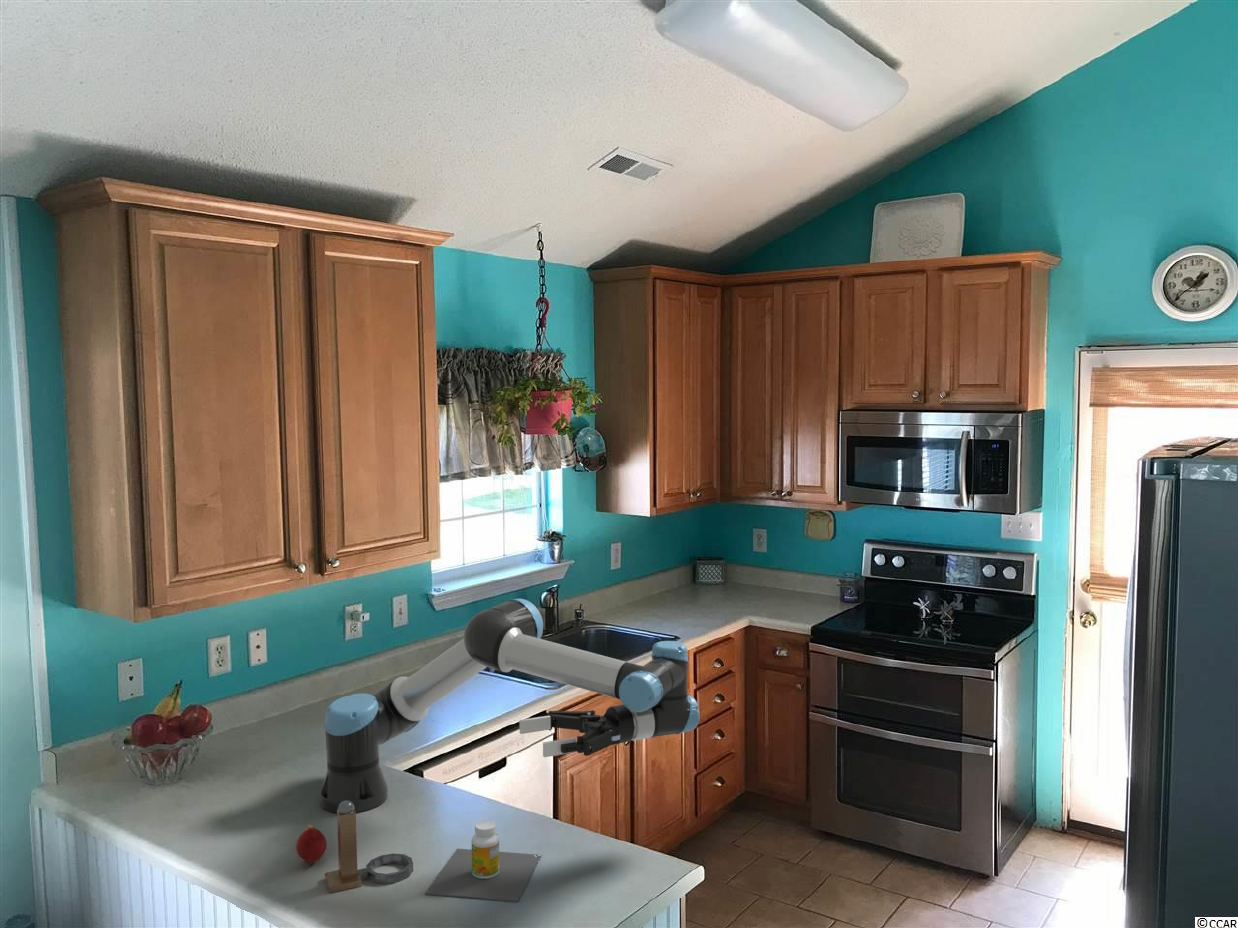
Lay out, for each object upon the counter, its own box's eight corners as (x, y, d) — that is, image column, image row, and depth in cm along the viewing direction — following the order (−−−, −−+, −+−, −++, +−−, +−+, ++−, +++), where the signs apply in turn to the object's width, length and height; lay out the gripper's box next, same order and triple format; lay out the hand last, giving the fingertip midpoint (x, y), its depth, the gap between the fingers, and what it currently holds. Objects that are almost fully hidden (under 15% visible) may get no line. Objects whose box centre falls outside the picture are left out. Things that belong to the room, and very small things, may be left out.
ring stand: (345, 857, 198) (342, 780, 197) (419, 863, 195) (417, 785, 194) (312, 891, 185) (309, 809, 183) (392, 898, 182) (389, 815, 181)
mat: (457, 849, 201) (457, 848, 201) (541, 856, 198) (541, 854, 198) (425, 894, 183) (425, 892, 183) (517, 902, 180) (517, 900, 180)
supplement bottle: (465, 873, 190) (465, 825, 189) (486, 863, 194) (485, 816, 193) (485, 882, 187) (484, 833, 186) (505, 871, 191) (504, 823, 190)
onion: (330, 856, 199) (329, 818, 198) (322, 869, 193) (321, 830, 192) (301, 856, 198) (300, 818, 198) (293, 870, 193) (291, 831, 192)
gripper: (655, 761, 191) (554, 779, 182) (603, 721, 213) (511, 735, 204) (655, 724, 190) (554, 740, 181) (603, 687, 212) (511, 700, 203)
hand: (531, 738), depth 192 cm, fingers open, 13 cm apart
